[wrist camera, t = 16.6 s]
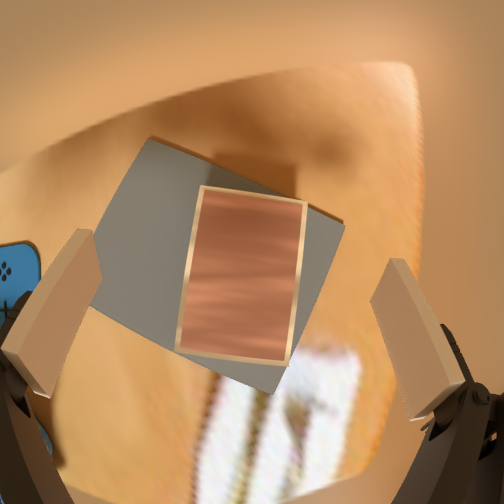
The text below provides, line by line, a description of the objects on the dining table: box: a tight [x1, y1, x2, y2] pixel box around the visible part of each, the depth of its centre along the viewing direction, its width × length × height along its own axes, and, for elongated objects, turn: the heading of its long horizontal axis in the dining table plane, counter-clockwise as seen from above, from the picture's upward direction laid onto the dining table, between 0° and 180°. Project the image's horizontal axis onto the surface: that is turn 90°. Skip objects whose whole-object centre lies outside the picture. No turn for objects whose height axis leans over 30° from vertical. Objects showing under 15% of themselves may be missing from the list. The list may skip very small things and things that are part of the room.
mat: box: [90, 138, 345, 395], centre depth 25 cm, size 20×16×1 cm
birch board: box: [174, 185, 308, 367], centre depth 23 cm, size 4×8×12 cm
